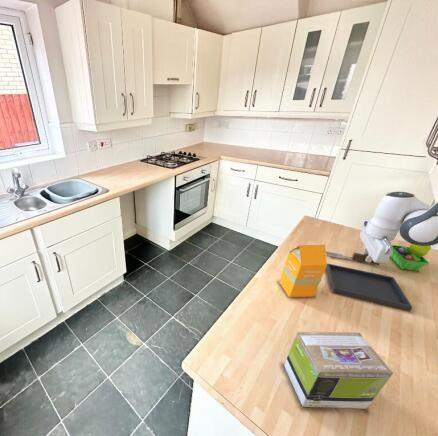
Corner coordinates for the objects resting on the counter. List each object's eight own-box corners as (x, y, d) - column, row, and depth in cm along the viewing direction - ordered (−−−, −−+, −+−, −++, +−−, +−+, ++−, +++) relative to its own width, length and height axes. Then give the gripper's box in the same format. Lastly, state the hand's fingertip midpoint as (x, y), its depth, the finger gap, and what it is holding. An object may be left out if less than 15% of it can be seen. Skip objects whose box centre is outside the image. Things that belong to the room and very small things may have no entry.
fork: (377, 262, 102) (380, 256, 100) (379, 266, 99) (382, 260, 98) (325, 251, 108) (327, 246, 107) (326, 255, 106) (328, 250, 105)
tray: (391, 281, 93) (393, 277, 92) (409, 311, 81) (412, 307, 80) (325, 267, 101) (326, 263, 100) (333, 292, 88) (334, 288, 87)
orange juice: (313, 296, 87) (333, 251, 77) (289, 297, 87) (305, 252, 77) (301, 281, 94) (318, 238, 84) (278, 281, 94) (292, 238, 84)
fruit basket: (384, 253, 108) (397, 232, 102) (409, 257, 105) (423, 235, 100) (399, 270, 98) (413, 247, 93) (427, 274, 96) (443, 251, 90)
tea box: (338, 366, 65) (361, 331, 58) (366, 410, 56) (397, 374, 49) (282, 365, 66) (297, 329, 59) (301, 408, 57) (321, 372, 50)
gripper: (403, 247, 85) (385, 276, 92) (381, 220, 102) (367, 247, 108) (380, 243, 88) (364, 272, 94) (363, 218, 104) (350, 244, 111)
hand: (366, 259), depth 101 cm, fingers closed on fork
